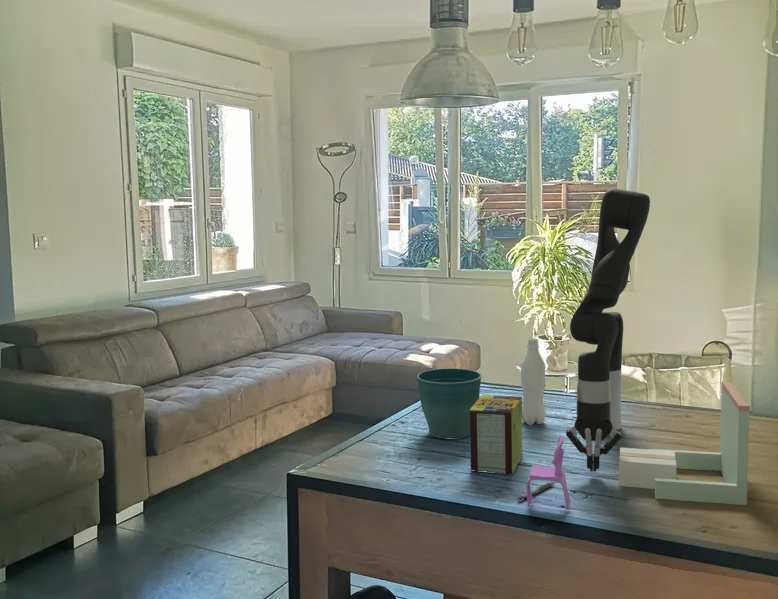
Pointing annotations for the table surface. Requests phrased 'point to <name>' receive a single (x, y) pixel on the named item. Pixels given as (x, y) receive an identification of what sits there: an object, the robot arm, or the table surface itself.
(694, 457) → the display stand
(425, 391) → the flower pot
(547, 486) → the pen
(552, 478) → the toy chair
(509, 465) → the protein box
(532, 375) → the water bottle
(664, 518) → the table surface
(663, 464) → the carton
